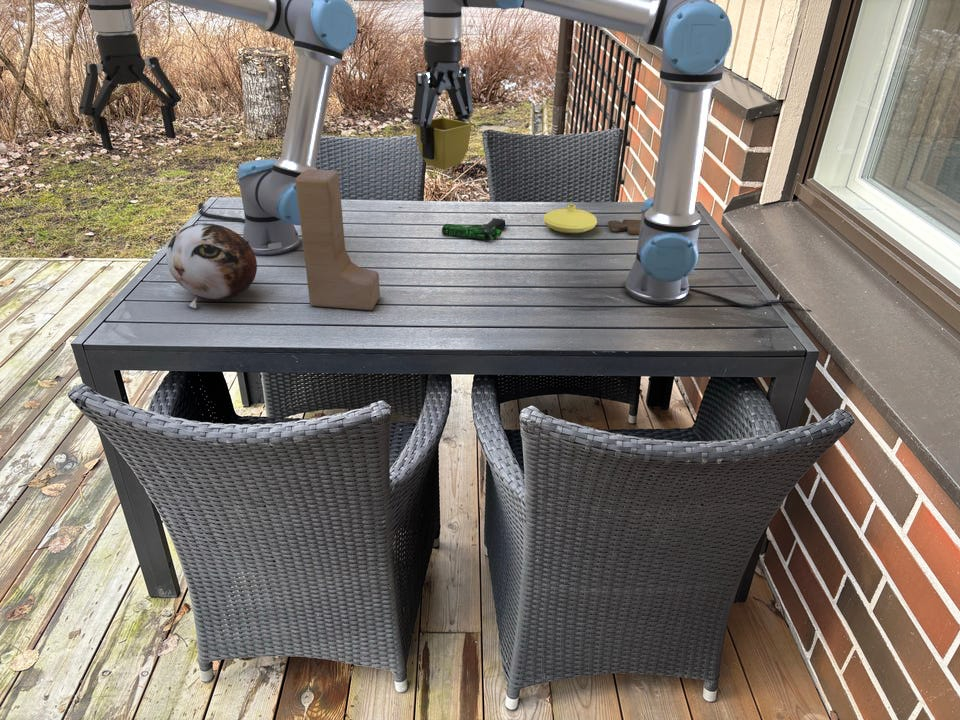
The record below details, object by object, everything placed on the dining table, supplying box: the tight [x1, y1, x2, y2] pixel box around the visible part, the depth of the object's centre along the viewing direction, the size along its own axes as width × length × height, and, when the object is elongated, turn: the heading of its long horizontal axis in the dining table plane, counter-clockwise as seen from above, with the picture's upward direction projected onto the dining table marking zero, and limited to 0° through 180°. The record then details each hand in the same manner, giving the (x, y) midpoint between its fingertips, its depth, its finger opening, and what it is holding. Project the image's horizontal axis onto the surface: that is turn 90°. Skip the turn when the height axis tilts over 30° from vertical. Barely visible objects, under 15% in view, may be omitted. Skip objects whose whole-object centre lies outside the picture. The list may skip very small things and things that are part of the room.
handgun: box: [441, 217, 506, 242], centre depth 207 cm, size 16×3×15 cm
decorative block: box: [295, 169, 381, 311], centre depth 159 cm, size 8×15×30 cm, turn 82°
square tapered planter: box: [414, 117, 472, 170], centre depth 153 cm, size 9×9×9 cm
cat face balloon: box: [165, 222, 258, 309], centre depth 165 cm, size 22×18×20 cm
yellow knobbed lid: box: [543, 203, 598, 234], centre depth 209 cm, size 16×16×7 cm
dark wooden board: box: [607, 219, 641, 235], centre depth 211 cm, size 26×2×10 cm
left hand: (140, 143), depth 150 cm, fingers open, 13 cm apart
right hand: (443, 153), depth 154 cm, fingers closed on square tapered planter, 9 cm apart
